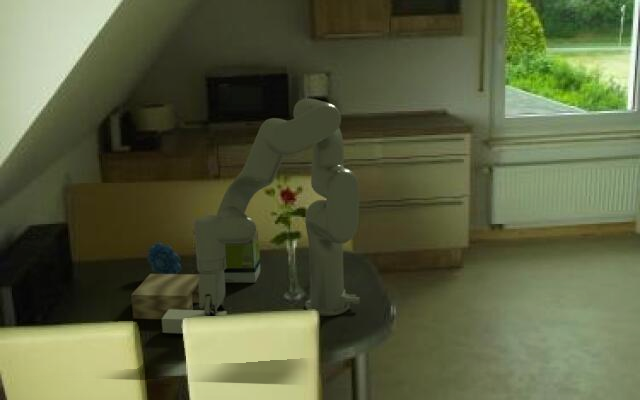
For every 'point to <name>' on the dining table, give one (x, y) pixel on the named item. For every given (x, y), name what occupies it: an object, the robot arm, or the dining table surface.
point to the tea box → (243, 261)
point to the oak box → (165, 295)
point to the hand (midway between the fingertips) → (215, 326)
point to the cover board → (180, 319)
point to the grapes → (163, 259)
